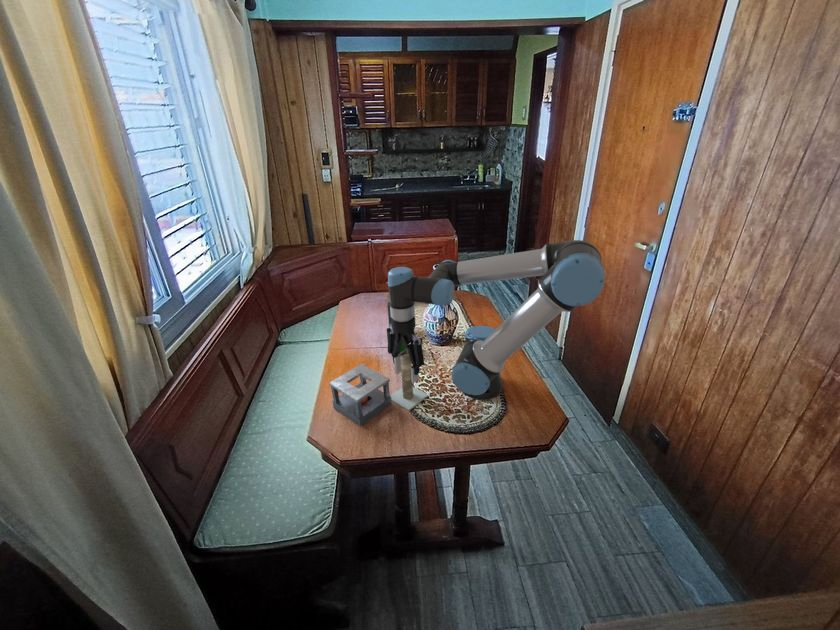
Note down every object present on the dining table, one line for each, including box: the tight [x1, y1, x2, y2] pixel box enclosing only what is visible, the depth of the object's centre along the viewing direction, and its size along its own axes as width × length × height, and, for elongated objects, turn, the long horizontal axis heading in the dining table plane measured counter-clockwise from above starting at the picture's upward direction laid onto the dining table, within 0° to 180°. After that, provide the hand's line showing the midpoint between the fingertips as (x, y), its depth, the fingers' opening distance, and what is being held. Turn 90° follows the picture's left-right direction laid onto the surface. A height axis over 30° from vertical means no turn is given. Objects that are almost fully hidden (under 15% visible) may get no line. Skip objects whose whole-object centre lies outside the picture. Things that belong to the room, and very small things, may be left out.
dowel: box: [400, 353, 414, 399], centre depth 130 cm, size 4×4×16 cm
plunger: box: [361, 396, 368, 405], centre depth 130 cm, size 4×4×5 cm
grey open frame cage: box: [328, 363, 393, 427], centre depth 129 cm, size 14×14×10 cm
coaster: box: [390, 386, 429, 412], centre depth 134 cm, size 10×10×1 cm
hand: (406, 376), depth 130 cm, fingers open, 7 cm apart
